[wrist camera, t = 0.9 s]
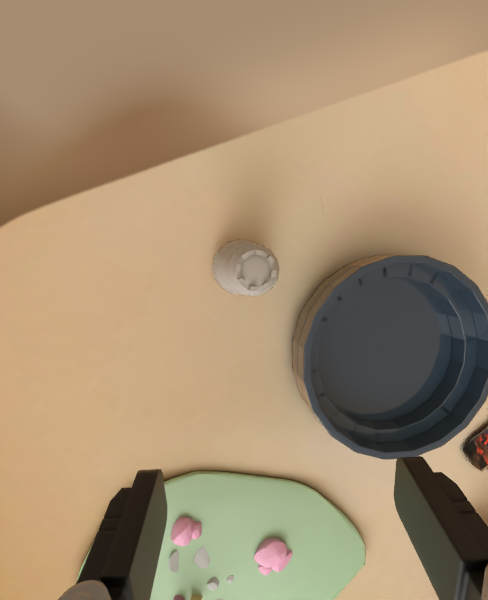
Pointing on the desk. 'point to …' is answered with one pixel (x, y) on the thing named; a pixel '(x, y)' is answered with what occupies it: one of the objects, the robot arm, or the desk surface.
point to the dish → (393, 354)
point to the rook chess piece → (245, 268)
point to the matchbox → (478, 450)
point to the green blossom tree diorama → (252, 541)
